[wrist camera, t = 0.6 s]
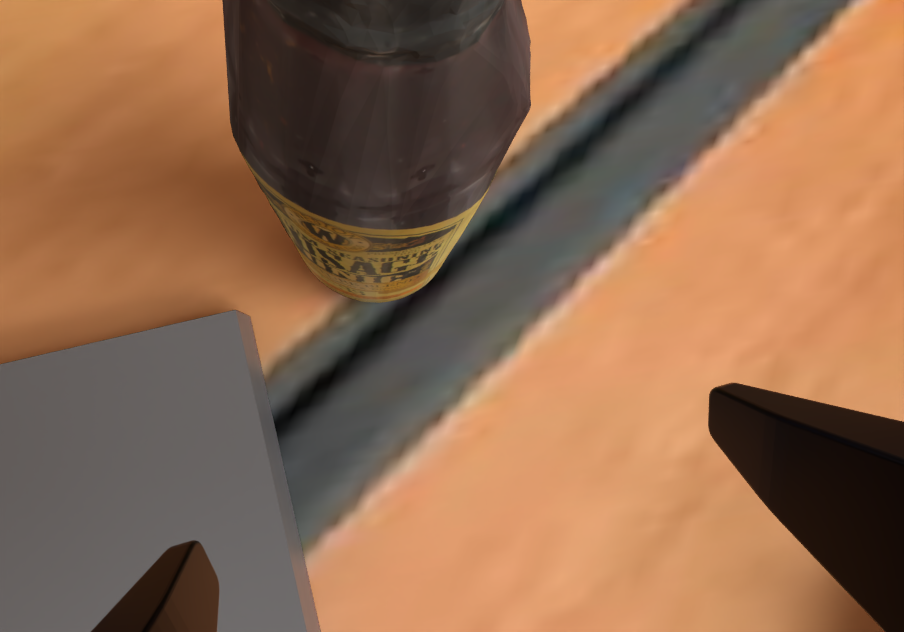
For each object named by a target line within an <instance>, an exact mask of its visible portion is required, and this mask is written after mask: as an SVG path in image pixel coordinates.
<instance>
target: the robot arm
mask: <svg viewBox="0 0 904 632" xmlns="http://www.w3.org/2000/svg"><path fill="white" fill-rule="evenodd" d="M708 427H709V431H710V434H711V436H712V438H713V439H714V441H715V442H716V443H717V445H718V446H719V447H720V448H721V450H722V451H723V452H724V454H725V455H726V456H727V457H728V459H729V460H730V461H731V462H732V464H733V465H734V466H735V467H736V469H737V470H738V471H739V473H740V474H741V475H742V476H743V478H744V479H745V480H746V481H747V483H748V484H749V485H750V487H751V488H752V489H753V490H754V492H755V493H756V494H757V495H758V497H759V498H760V499H761V500H762V501H763V503H764V504H765V505H766V506H767V507H768V509H769V510H770V511H771V512H772V513H773V514H774V515H775V516H776V517H777V519H778V520H779V521H780V522H781V523H782V524H783V525H784V526H785V527H786V528H787V529H788V530H789V531H790V532H791V533H792V534H793V535H794V536H795V538H796V539H797V540H798V541H799V542H800V543H801V544H802V545H803V546H804V547H805V548H806V549H807V550H808V551H809V552H810V553H811V554H812V555H813V556H814V558H815V559H816V560H817V561H818V562H819V563H820V564H821V565H822V566H823V567H824V568H825V569H826V570H827V571H828V572H829V573H830V574H831V575H832V577H833V578H834V579H835V580H836V581H837V582H838V583H839V584H840V585H841V586H842V587H843V588H844V589H845V590H846V591H847V592H848V593H849V594H850V595H851V597H852V598H853V599H854V600H855V601H856V602H857V603H858V604H859V605H860V606H861V607H862V608H863V609H864V610H865V611H866V612H867V613H868V614H869V615H870V617H871V618H872V619H873V620H874V621H875V622H876V623H877V624H878V625H879V626H880V627H881V628H882V629H883V630H884V631H885V632H904V422H902V421H898V420H894V419H889V418H885V417H881V416H876V415H872V414H868V413H863V412H859V411H855V410H850V409H846V408H842V407H838V406H833V405H829V404H825V403H820V402H816V401H812V400H807V399H803V398H799V397H794V396H790V395H786V394H782V393H777V392H773V391H769V390H764V389H760V388H756V387H751V386H747V385H743V384H738V383H729V384H725V385H722V386H718V387H715V388H713V389H712V390H711V392H710V394H709V417H708ZM218 608H219V581H218V577H217V575H216V573H215V570H214V568H213V566H212V564H211V562H210V560H209V558H208V556H207V554H206V552H205V550H204V548H203V546H202V544H201V543H200V542H199V541H196V540H191V541H188V542H185V543H181V544H178V545H174V546H172V547H170V548H168V549H167V550H166V551H165V552H164V553H163V554H162V555H161V556H160V557H159V558H158V559H157V561H156V562H155V563H154V564H153V565H152V566H151V567H150V568H149V569H148V570H147V571H146V572H145V573H144V575H143V576H142V577H141V578H140V579H139V580H138V581H137V582H136V583H135V584H134V585H133V586H132V588H131V589H130V590H129V591H128V592H127V593H126V594H125V595H124V596H123V597H122V598H121V599H120V600H119V602H118V603H117V604H116V605H115V606H114V607H113V608H112V609H111V610H110V611H109V612H108V613H107V615H106V616H105V617H104V618H103V619H102V620H101V621H100V622H99V623H98V624H97V625H96V626H95V628H94V629H93V630H92V631H91V632H217V624H218Z"/></svg>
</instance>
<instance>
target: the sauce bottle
mask: <svg viewBox="0 0 904 632" xmlns="http://www.w3.org/2000/svg"><path fill="white" fill-rule="evenodd" d="M223 14H224V30H225V46H226V62H227V78H228V94H229V110H230V123H231V128H232V133H233V136H234V138H235V141H236V143H237V145H238V148H239V150H240V152H241V154H242V156H243V157H244V159H245V161H246V163H247V165H248V166H249V168H250V170H251V172H252V173H253V175H254V176H255V178H256V180H257V182H258V184H259V186H260V188H261V189H262V191H263V192H264V193H265V195H266V197H267V199H268V200H269V203H270V205H271V206H272V208H273V210H274V211H275V212H276V214H277V216H278V217H279V219H280V221H281V223H282V225H283V227H284V228H285V230H286V232H287V233H288V235H289V237H290V238H291V239H292V241H293V243H294V245H295V246H296V248H297V250H298V252H299V253H300V255H301V257H302V259H303V260H304V262H305V263H306V265H307V267H308V268H309V269H310V271H311V272H312V273H313V274H314V275H315V276H316V277H317V278H318V279H319V280H320V281H321V282H322V283H323V284H325V285H326V286H327V287H329V288H330V289H332V290H334V291H335V292H337V293H339V294H341V295H343V296H345V297H348V298H351V299H356V300H358V301H363V302H379V303H380V302H388V301H394V300H398V299H402V298H404V297H405V296H408V295H410V294H412V293H414V292H415V291H417V290H419V289H420V288H422V287H423V286H425V285H426V284H427V283H428V282H429V281H430V280H431V279H432V278H433V277H434V276H435V274H436V273H437V272H438V270H439V269H440V267H441V265H442V264H443V262H444V261H445V259H446V257H447V256H448V254H449V253H450V251H451V250H452V248H453V247H454V245H455V244H456V242H457V241H458V239H459V238H460V236H461V235H462V233H463V231H464V230H465V228H466V227H467V225H468V223H469V222H470V220H471V218H472V217H473V215H474V214H475V212H476V210H477V209H478V207H479V205H480V203H481V201H482V200H483V198H484V196H485V194H486V193H487V191H488V189H489V187H490V185H491V183H492V181H493V179H494V177H495V175H496V172H497V170H498V167H499V165H500V163H501V161H502V160H503V158H504V156H505V154H506V152H507V150H508V148H509V146H510V144H511V142H512V141H513V139H514V137H515V135H516V133H517V131H518V130H519V128H520V126H521V124H522V122H523V121H524V119H525V117H526V115H527V113H528V112H529V110H530V106H531V100H530V56H531V53H530V43H531V41H530V37H529V32H528V27H527V21H526V16H525V13H524V10H523V7H522V3H521V0H223Z"/></svg>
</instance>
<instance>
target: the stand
mask: <svg viewBox="0 0 904 632" xmlns="http://www.w3.org/2000/svg"><path fill="white" fill-rule="evenodd" d="M191 540H196V541H199V542H200V543H201V544H202V546H203V548H204V550H205V552H206V554H207V556H208V558H209V560H210V562H211V564H212V566H213V568H214V570H215V573H216V575H217V577H218V581H219V608H218V624H217V632H321V630H320V626H319V622H318V617H317V613H316V608H315V604H314V599H313V595H312V590H311V586H310V581H309V577H308V572H307V568H306V564H305V559H304V555H303V550H302V546H301V541H300V537H299V532H298V528H297V523H296V519H295V514H294V510H293V506H292V501H291V497H290V492H289V488H288V483H287V479H286V474H285V470H284V465H283V461H282V456H281V452H280V448H279V443H278V439H277V434H276V430H275V425H274V421H273V416H272V412H271V407H270V403H269V398H268V394H267V390H266V385H265V381H264V376H263V372H262V367H261V363H260V358H259V354H258V349H257V345H256V340H255V336H254V332H253V327H252V323H251V318H250V316H248V315H246V314H244V313H241V312H239V311H237V310H233V311H228V312H224V313H220V314H215V315H211V316H207V317H202V318H198V319H194V320H189V321H185V322H181V323H176V324H172V325H168V326H163V327H159V328H155V329H151V330H146V331H142V332H138V333H133V334H129V335H125V336H120V337H116V338H112V339H107V340H103V341H99V342H94V343H90V344H86V345H82V346H77V347H73V348H69V349H64V350H60V351H56V352H51V353H47V354H43V355H38V356H34V357H30V358H25V359H21V360H17V361H12V362H8V363H4V364H0V632H91V631H92V630H93V629H94V628H95V626H96V625H97V624H98V623H99V622H100V621H101V620H102V619H103V618H104V617H105V616H106V615H107V613H108V612H109V611H110V610H111V609H112V608H113V607H114V606H115V605H116V604H117V603H118V602H119V600H120V599H121V598H122V597H123V596H124V595H125V594H126V593H127V592H128V591H129V590H130V589H131V588H132V586H133V585H134V584H135V583H136V582H137V581H138V580H139V579H140V578H141V577H142V576H143V575H144V573H145V572H146V571H147V570H148V569H149V568H150V567H151V566H152V565H153V564H154V563H155V562H156V561H157V559H158V558H159V557H160V556H161V555H162V554H163V553H164V552H165V551H166V550H167V549H168V548H170V547H172V546H174V545H178V544H181V543H185V542H188V541H191Z"/></svg>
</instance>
